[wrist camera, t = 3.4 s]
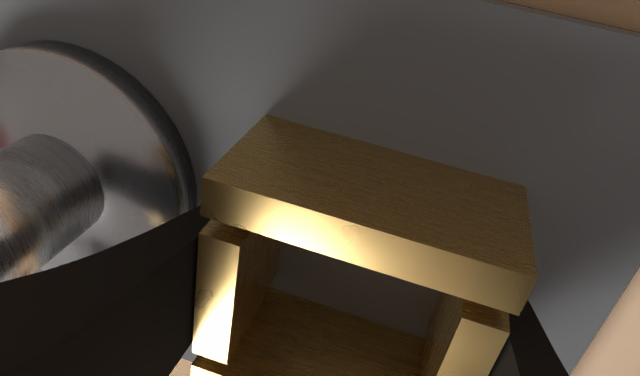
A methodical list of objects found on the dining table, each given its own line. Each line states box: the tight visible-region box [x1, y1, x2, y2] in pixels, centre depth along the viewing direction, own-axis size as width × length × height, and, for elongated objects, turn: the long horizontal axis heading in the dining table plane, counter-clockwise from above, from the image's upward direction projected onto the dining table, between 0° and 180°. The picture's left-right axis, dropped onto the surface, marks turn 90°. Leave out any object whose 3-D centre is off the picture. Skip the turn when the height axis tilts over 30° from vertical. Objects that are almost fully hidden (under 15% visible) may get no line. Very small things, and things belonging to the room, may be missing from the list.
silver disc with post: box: [0, 40, 197, 282], centre depth 11 cm, size 6×6×5 cm
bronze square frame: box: [191, 114, 538, 376], centre depth 11 cm, size 6×6×3 cm
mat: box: [0, 0, 640, 376], centre depth 13 cm, size 18×12×1 cm, turn 80°
